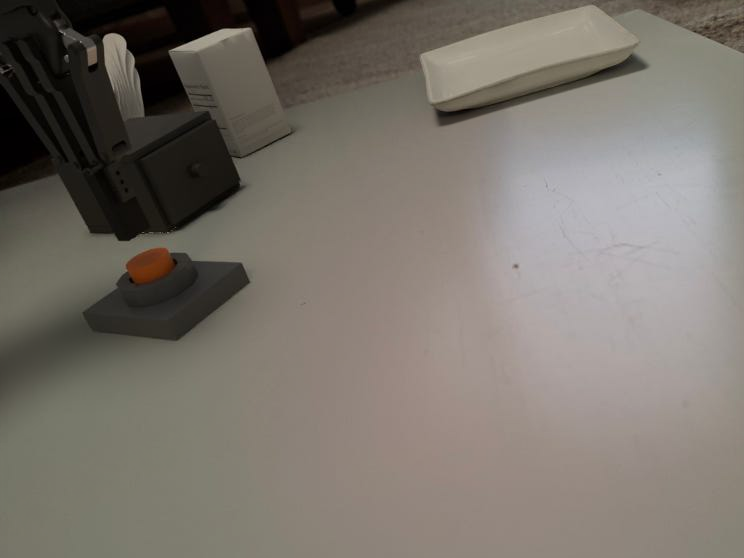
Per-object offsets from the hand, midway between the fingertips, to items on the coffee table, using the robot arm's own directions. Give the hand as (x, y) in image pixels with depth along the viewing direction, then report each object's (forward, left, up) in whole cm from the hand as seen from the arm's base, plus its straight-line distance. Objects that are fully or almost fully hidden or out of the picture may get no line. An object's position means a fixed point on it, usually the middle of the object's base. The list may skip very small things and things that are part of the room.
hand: (134, 233), depth 76 cm
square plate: (+24, +57, -8) cm, 62 cm away
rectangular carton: (-15, +47, -8) cm, 50 cm away
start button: (0, 0, -4) cm, 4 cm away
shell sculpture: (-35, +48, -8) cm, 60 cm away
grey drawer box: (-17, +26, -8) cm, 32 cm away
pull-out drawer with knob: (-15, +25, -7) cm, 30 cm away
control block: (0, 0, -8) cm, 8 cm away
